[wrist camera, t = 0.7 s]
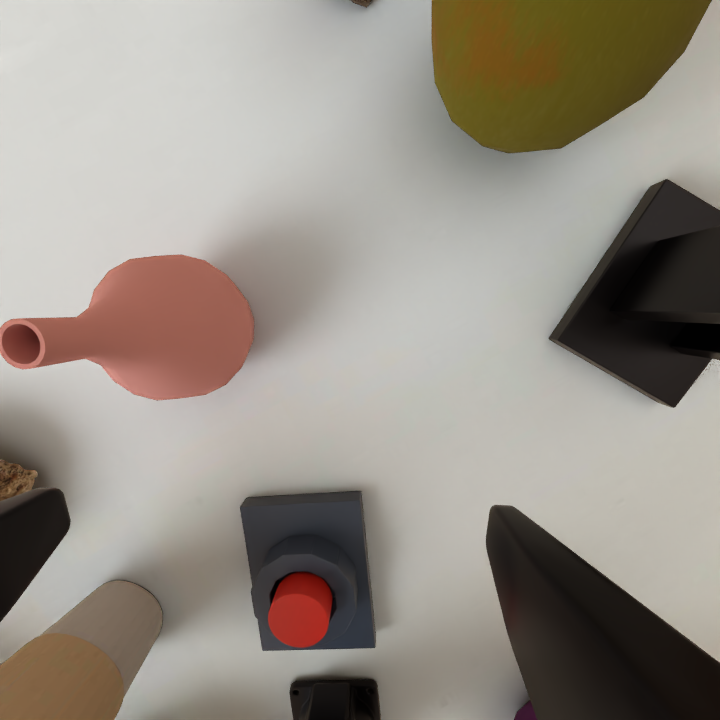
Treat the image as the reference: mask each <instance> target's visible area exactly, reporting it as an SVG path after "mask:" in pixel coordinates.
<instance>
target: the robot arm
mask: <svg viewBox="0 0 720 720" xmlns="http://www.w3.org/2000/svg"><path fill="white" fill-rule="evenodd" d="M69 527H70V516H69V512H68V508H67V505H66V501H65V497H64V494H63V492H62V491H61V490H60V489H57V488H36V489H33V490H30V491H27V492H25V493H22V494H19V495H16V496H14V497H11V498H8V499H5V500H3V501H0V622H1V621H2V620H3V618H4V617H5V616H6V615H7V613H8V612H9V611H10V610H11V608H12V607H13V606H14V604H15V603H16V602H17V600H18V599H19V598H20V597H21V595H22V594H23V592H24V591H25V590H26V588H27V587H28V586H29V584H30V583H31V581H32V580H33V579H34V577H35V576H36V575H37V573H38V572H39V571H40V569H41V568H42V566H43V565H44V564H45V562H46V561H47V560H48V558H49V557H50V556H51V554H52V553H53V551H54V550H55V549H56V547H57V546H58V545H59V543H60V542H61V540H62V539H63V538H64V536H65V535H66V533H67V532H68V530H69ZM486 548H487V553H488V557H489V561H490V565H491V569H492V573H493V578H494V582H495V586H496V590H497V594H498V598H499V602H500V606H501V610H502V614H503V618H504V622H505V626H506V629H507V633H508V637H509V640H510V643H511V646H512V649H513V652H514V655H515V658H516V661H517V663H518V666H519V669H520V672H521V675H522V678H523V681H524V683H525V686H526V689H527V692H528V695H529V698H530V701H531V703H532V706H533V709H534V712H535V715H536V718H537V720H720V663H719V662H718V661H717V660H715V659H714V658H713V657H711V656H710V655H709V654H707V653H706V652H705V651H703V650H702V649H701V648H699V647H698V646H697V645H696V644H694V643H693V642H692V641H690V640H689V639H688V638H686V637H685V636H684V635H682V634H681V633H680V632H678V631H677V630H676V629H674V628H673V627H672V626H671V625H669V624H668V623H667V622H665V621H664V620H663V619H661V618H660V617H659V616H657V615H656V614H655V613H653V612H652V611H651V610H649V609H648V608H647V607H645V606H644V605H643V604H642V603H640V602H639V601H638V600H636V599H635V598H634V597H632V596H631V595H630V594H628V593H627V592H626V591H624V590H623V589H622V588H620V587H619V586H618V585H616V584H615V583H614V582H613V581H611V580H610V579H609V578H607V577H606V576H605V575H603V574H602V573H601V572H599V571H598V570H597V569H595V568H594V567H593V566H591V565H590V564H589V563H587V562H586V561H585V560H584V559H582V558H581V557H580V556H578V555H577V554H576V553H574V552H573V551H572V550H570V549H569V548H568V547H566V546H565V545H564V544H562V543H561V542H560V541H559V540H557V539H556V538H555V537H553V536H552V535H551V534H549V533H548V532H547V531H545V530H544V529H543V528H541V527H540V526H539V525H537V524H536V523H535V522H533V521H532V520H531V519H530V518H528V517H527V516H526V515H524V514H523V513H522V512H520V511H519V510H518V509H516V508H515V507H513V506H507V505H494V506H492V507H491V509H490V513H489V520H488V527H487V534H486ZM289 693H290V700H291V706H292V713H293V720H381V714H380V705H379V695H378V685H377V683H376V682H375V681H374V680H322V681H294V682H293V683H292V684H291V687H290V692H289Z"/></svg>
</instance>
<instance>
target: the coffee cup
mask: <svg viewBox="0 0 720 720" xmlns="http://www.w3.org/2000/svg"><path fill="white" fill-rule="evenodd" d="M162 622H163V614H162V610H161V607H160V605H159V603H158V601H157V600H156V599H155V598H154V597H153V595H152V594H150V593H149V592H148V591H147V590H145V589H144V588H142V587H140V586H138V585H136V584H134V583H131V582H127V581H119V580H117V581H110V582H107V583H105V584H103V585H101V586H100V587H98V588H97V589H96V590H95V591H93V592H92V593H91V594H90V595H89V596H87V597H86V598H85V599H84V600H83V601H81V602H80V603H79V604H78V605H77V606H75V607H74V608H73V609H72V610H70V611H69V612H68V613H67V614H66V615H64V616H63V617H62V618H61V619H60V620H58V621H57V622H56V623H55V624H54V625H52V626H51V627H50V628H49V629H48V630H46V631H45V632H44V633H43V634H42V635H40V636H38V637H36V638H34V639H33V640H31V641H30V642H28V643H27V644H26V645H24V646H23V647H22V648H21V649H20V650H18V651H17V652H16V653H15V654H14V655H12V656H11V657H10V658H9V659H8V660H6V661H5V662H4V663H3V664H1V665H0V720H114V719H115V717H116V715H117V713H118V712H119V709H120V707H121V704H122V702H123V698H124V696H125V694H126V692H127V691H128V689H129V687H130V685H131V683H132V682H133V680H134V678H135V676H136V674H137V673H138V671H139V669H140V667H141V665H142V664H143V662H144V660H145V658H146V656H147V655H148V653H149V651H150V649H151V647H152V646H153V644H154V642H155V640H156V638H157V637H158V635H159V633H160V630H161V627H162Z"/></svg>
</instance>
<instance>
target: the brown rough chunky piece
mask: <svg viewBox="0 0 720 720" xmlns="http://www.w3.org/2000/svg"><path fill="white" fill-rule="evenodd" d="M37 476H38V473H37V472H36V470H25V469H23V468H22V467H21V466H20V465H19V464H16V463H13V464H11V463H9V462H6V461H4V460H0V501H3V500H5V499H8V498H11V497H14V496H16V495H19V494H22V493H25V492H27V491H30V490H32V486H33V484H34V482H35V480H34V478H36V477H37Z"/></svg>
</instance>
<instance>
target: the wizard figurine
mask: <svg viewBox="0 0 720 720" xmlns="http://www.w3.org/2000/svg"><path fill="white" fill-rule="evenodd" d="M351 1H352V2H353V3H355V4H358V5H361V6H364V7H368V5H369V4H370V2H371V1H372V0H351Z"/></svg>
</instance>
